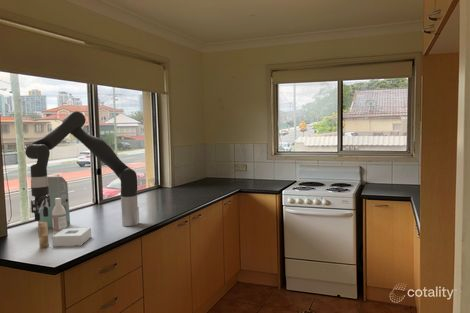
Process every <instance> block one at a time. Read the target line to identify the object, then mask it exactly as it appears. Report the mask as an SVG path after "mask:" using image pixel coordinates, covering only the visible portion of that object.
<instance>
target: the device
mask: <svg viewBox="0 0 470 313" xmlns="http://www.w3.org/2000/svg"><path fill="white" fill-rule="evenodd" d="M47 178H48V186H49V194H48V195H49V196H50V207H49V209H48V216H47V217H44V216H43V207H42V209H40V221H37V222H38V223H40V222H47V227H48V228H52V229H53V222H52V211H53V209H54V207H55V198H61V205H62V206H63V207H64V208H65V211H66V220H67V227H68V226H70V225H71V217H70V202H69V190H68V189H69V188H68V187H69V186H68V181H66V180H67V179H65V178H64V177H63V176H60V174H49V175H48V174H47ZM38 223H37V224H38Z"/></svg>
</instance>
